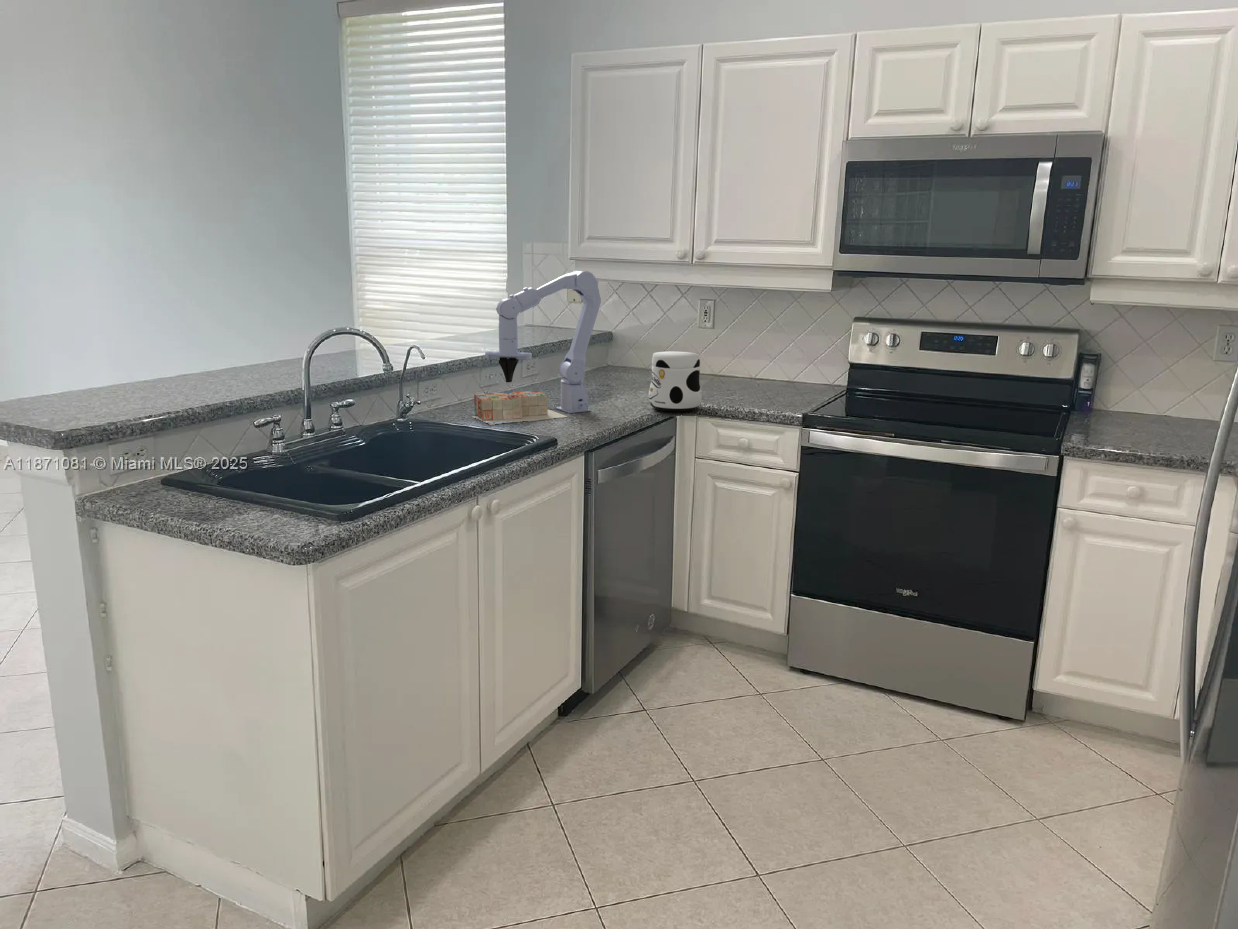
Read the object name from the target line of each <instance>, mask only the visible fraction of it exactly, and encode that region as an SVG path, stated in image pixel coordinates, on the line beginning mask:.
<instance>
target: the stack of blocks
mask: <svg viewBox="0 0 1238 929" xmlns="http://www.w3.org/2000/svg"><path fill="white" fill-rule="evenodd" d="M473 394H474V395H473V398H474V399H473V400H474V402H473V403H474V414H475V416H479V418H480V419H482V420H483V421H487V420H502V419H503V420H505V419H516V418H522V416H536V415H546V414H548V410H549V408H548V407H549V405H548V401H549V400H548V395H547V394H546V393H544V392H542V391H540V390H539V391H538V390H537V391H534V390H533V391H511V392H485V393H482V392H481V393H473Z"/></svg>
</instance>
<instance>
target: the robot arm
mask: <svg viewBox="0 0 1238 929" xmlns="http://www.w3.org/2000/svg"><path fill="white" fill-rule="evenodd" d="M565 289H566V290H573V291H574V292H576V293H577V294H578V296H579V297H580V299H581V301H582V302H583V304H582V307H581V311H580V315H579V318H578V321H577V324H576V328H575V331H574V334H573V337H572V341H571V344H570V348H569V350H568V352H567V353H566V354H565V357H564V359H563V361H562V362H561V363H560V364H559V366H558V372H559V375H560V376H561V380H560V405H559V406H555V409H556V410H560V411H562V412H565V413H568V414H575V413H584V412H591V409H589V390H588V388H587V387H586V386H584V379H585V377H586V369H585V368H586V364H587V363H586V362H587V361H586V353H587V350H588V346H589V343H590V340H591V337H592V333H593V330H594V326H595V323H596V320H597V316H598V313H599V309H600V307H601V304H602V299H601V293H600V290H599V281H598V280H597V278H596V276H595V274H593V272H590V271H586V270H580V269H576V270H573V271H572V272H567V273H565V274H562V275H561V276H559V277H556V278H555V279H553V280H551V281H548V282H547V283H546V284H543V285H541V286H540V287H538V288H534V287H532V286H531V287H527V286H525V287H523V288H522V290H521V291H520V292H518V293H515V294H514V295H513V294H509V296H508V297H509V298H503V299H501V300H499V301H498V303H497V306H496V307H495V309H496V312H497V314H498V348H499V350H498V351H497V350H496V351H494V350H493V351H491V350H490V351H488V350H487V351H485V353H484V354H485V355H484V357H485V359H498V364H499V366H500V367H501V370H502V372H503V374H504V378H505V382H506V383H512V382H513V378H514V373H515V370H516V368H517V365H518V363H519V361H520V360H527V361H531V360H532V359H533V353H531V352H522V351H518V345H519V343H518V316H519V313H521V314H522V313H523V312H525V311H528V310H530V309H532V308H534V307H537V306H538V305H539V304H540V302H541V300H542V299H543V298H545V297H548V296H550V295H552V294H556V293H557V292H560V291H562V290H565Z"/></svg>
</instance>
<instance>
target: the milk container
mask: <svg viewBox="0 0 1238 929" xmlns="http://www.w3.org/2000/svg"><path fill="white" fill-rule="evenodd" d="M700 373H701V355H700V354H699V353H695V352H692V351H691V352H690V351H678V350H677V351H676V350H675V351H672V350H671V351H668V350H667V351H658V352H657V351H656V352H654V353H652V357H651V381H650V386H649V390H648V401H649V402H648V403H649V405H650V406H651V407H652V408H654V409H657V410H660V411H666V412H687V411H694V410H695V409H698V408H699V407H700V406H701V402H702V398H703V392H702V387H701V383H700V381H701V380H700V378H701V377H700V376H701V374H700Z"/></svg>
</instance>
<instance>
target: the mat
mask: <svg viewBox="0 0 1238 929" xmlns="http://www.w3.org/2000/svg"><path fill="white" fill-rule="evenodd" d="M471 418H472V419H475V418H479V416H478V415H475V416H471ZM554 418H556V419H563V418H565V419H566V418H569V416H567V415H564V414H563V413H559V412H556V411H554V410H550V409H548V414H546V415H536V416H522V418H516V419H507V420H503V419H502V420H487V421H519V422H518V423H523V422H522V421H528V422H535V421H537V422H538V421H543V420H553V419H554ZM554 420H555V419H554ZM482 421H483V420H481V421H480V422H482ZM520 421H521V422H520ZM497 424H499V425H502V424H501V423H497ZM488 426H496V425H495V424H491V423H490V424H489V425H488Z"/></svg>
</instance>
